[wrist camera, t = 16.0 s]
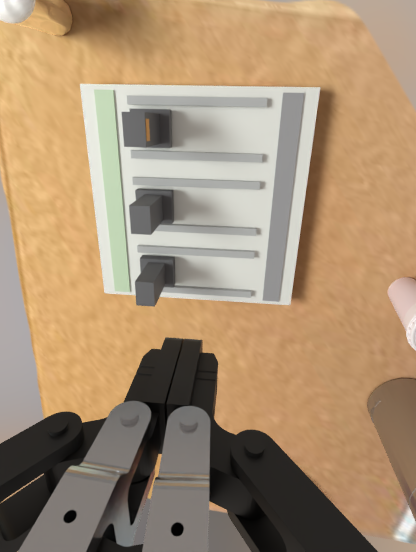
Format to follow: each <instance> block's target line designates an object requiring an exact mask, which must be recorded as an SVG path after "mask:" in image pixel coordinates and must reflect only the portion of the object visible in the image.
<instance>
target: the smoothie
mask: <svg viewBox="0 0 416 552" xmlns="http://www.w3.org/2000/svg"><path fill="white" fill-rule="evenodd" d="M388 296H389V298H390V300H391V302H392V304H393V306H394V308H395V310H396V312H397V314H398V316H399V318H400V320H401V322H402V324H403V326H404V328H405V330H406V332H407V333H406V336H407V340H408V342H409V344H410V345H411V347H412V348H414V350H415V351H416V280H415V279H413V278H409V277H403V278H399V279H397V280H395V281H394V282H393V283H392V284H391V285H390V287H389V289H388Z"/></svg>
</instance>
